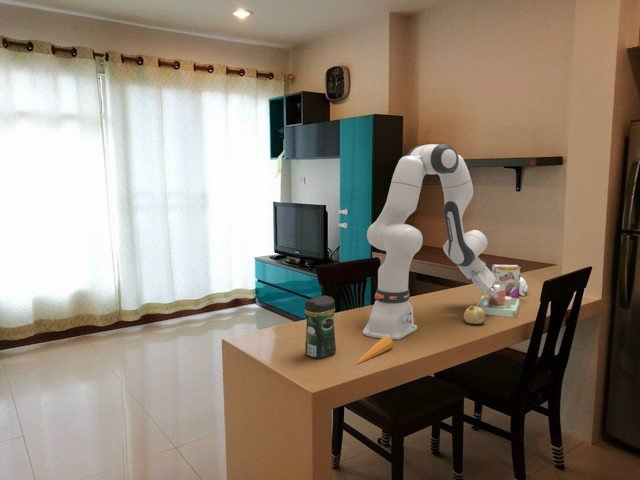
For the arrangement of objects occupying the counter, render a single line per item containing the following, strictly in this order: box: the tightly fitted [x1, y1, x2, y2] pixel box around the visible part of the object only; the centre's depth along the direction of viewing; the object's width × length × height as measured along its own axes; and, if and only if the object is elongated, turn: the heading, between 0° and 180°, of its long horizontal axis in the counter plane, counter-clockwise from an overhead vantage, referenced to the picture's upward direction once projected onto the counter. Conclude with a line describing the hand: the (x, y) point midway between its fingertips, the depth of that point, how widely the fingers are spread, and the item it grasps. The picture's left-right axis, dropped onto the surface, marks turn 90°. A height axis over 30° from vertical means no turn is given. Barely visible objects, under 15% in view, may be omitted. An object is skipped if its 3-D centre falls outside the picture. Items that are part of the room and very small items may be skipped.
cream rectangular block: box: [487, 295, 511, 309], centre depth 209 cm, size 5×9×4 cm, turn 64°
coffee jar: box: [304, 295, 337, 359], centre depth 157 cm, size 10×8×19 cm
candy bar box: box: [491, 264, 522, 299], centre depth 218 cm, size 11×5×16 cm, turn 84°
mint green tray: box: [474, 294, 520, 319], centre depth 205 cm, size 20×15×4 cm
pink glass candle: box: [488, 283, 506, 309], centre depth 200 cm, size 6×6×10 cm
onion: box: [463, 305, 487, 325], centre depth 189 cm, size 8×8×7 cm
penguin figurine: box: [519, 276, 529, 297], centre depth 233 cm, size 6×8×12 cm
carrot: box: [354, 337, 394, 366], centre depth 156 cm, size 20×4×4 cm, turn 141°
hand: (498, 295), depth 200 cm, fingers closed on pink glass candle, 6 cm apart
